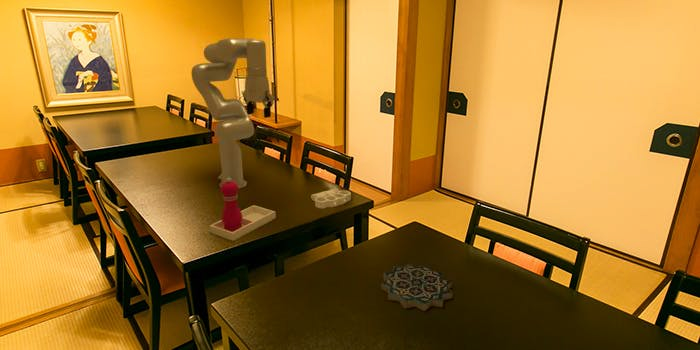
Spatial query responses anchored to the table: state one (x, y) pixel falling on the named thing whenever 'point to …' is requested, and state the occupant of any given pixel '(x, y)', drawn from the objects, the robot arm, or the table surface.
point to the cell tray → (245, 222)
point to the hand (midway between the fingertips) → (258, 115)
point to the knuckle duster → (331, 198)
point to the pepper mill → (231, 206)
